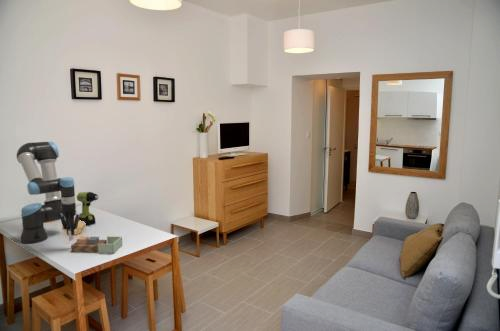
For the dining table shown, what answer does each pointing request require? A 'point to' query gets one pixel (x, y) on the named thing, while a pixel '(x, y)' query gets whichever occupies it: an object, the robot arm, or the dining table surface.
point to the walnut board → (87, 247)
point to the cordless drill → (87, 207)
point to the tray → (110, 245)
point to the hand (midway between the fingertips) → (71, 239)
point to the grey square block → (92, 240)
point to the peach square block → (82, 240)
